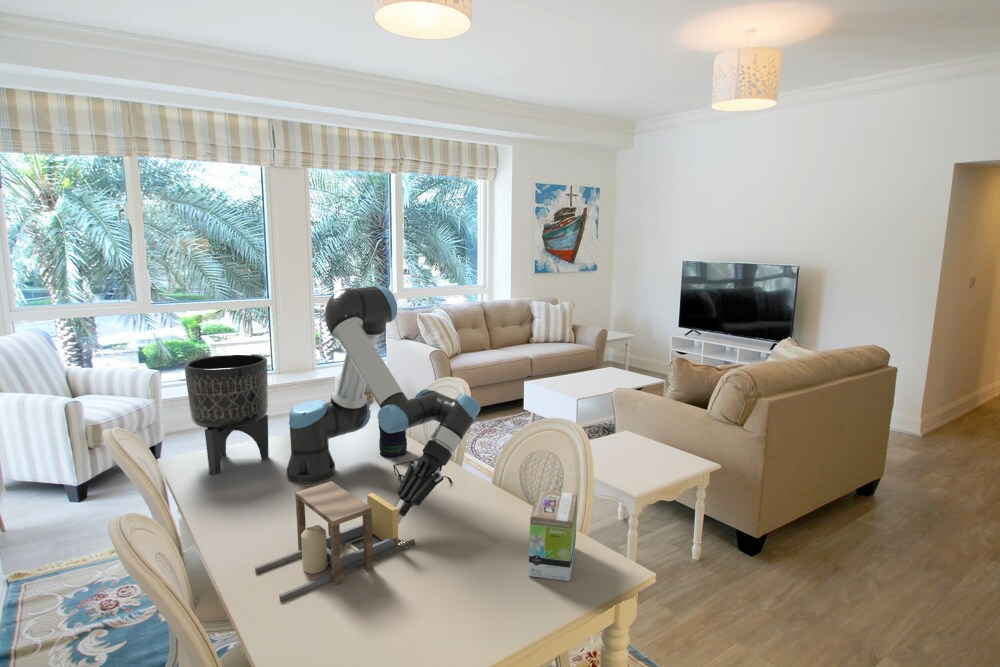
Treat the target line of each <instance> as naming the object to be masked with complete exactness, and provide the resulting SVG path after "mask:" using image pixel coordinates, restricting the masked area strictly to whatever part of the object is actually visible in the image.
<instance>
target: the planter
mask: <svg viewBox="0 0 1000 667" xmlns="http://www.w3.org/2000/svg"><path fill="white" fill-rule="evenodd" d="M184 374H185V382H186V390H187V395H188V396H187V397H188V404H189V410H190V418H191V421H192V423H194V425H196V426H198V427H201V428H205V429H204V437H205V445H206V446H205V447H206V453H207V455H206V456H207V463H208V473H209V474H210V475H218V474H220V473H222V472H221V471H222V470H221V467H222V466H221V465H222V456H225V455H227V439H228V437H229V436H230V435H231V433H233V432H235V431H236V432H237V431H238V432H242V433H245V434H246V435H247V436H250V438H252V439H253V441H254V442H255V444H256V445H257V448H258V450H259V455H260V459H261V461H262V460H268V459H269V457H270V456H269V414H268V409H269V407H268V406H269V399H268V397H269V395H268V394H269V392H268V386H269V385H268V384H269V383H268V359H267V357H265V356H263V355H259V354H249V353H248V354H247V353H246V354H245V353H236V354H234V353H232V354H231V353H230V354H222V355H221V354H219V355H212V356H211V355H210V356H206V357H200V358H195V359H193V360H192V359H191V360H189V361H188V362H185V364H184Z"/></svg>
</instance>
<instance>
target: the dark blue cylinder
mask: <svg viewBox="0 0 1000 667" xmlns="http://www.w3.org/2000/svg"><path fill="white" fill-rule="evenodd" d="M378 423H379V420H378ZM378 430H379V438H378V439H379V440H378V443H379V444H378V448H379V456H380V455H381V456H380V457H381V458H384V457H385V458H386V459H397V458H402V457H404V456H406V455H407V453H408V450H407V449H408V448H407V447H408V440H407V439H408V438H407V432H406V430H407V429H405V430H404V431H399V432H395V433H387V432H385V431H384V430H383V429H382V428H381V427H380V425H379V424H378Z"/></svg>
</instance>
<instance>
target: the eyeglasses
mask: <svg viewBox="0 0 1000 667" xmlns="http://www.w3.org/2000/svg"><path fill="white" fill-rule="evenodd" d="M418 459H419V458H418ZM418 459H414V460H412V459H411V460H412V461H414V462H415V461H418ZM411 460H408V461H404V462H400V463H397V464H396V463H395V464H393V465H392V467H393V471H394V472H393V473H394V476H395V475H396V476H398V481H400V483H401V482H402V480H403V478H404V476H405V475H402V474H400V472H399V469H398V468H397V466H398V465H403V464H407V463H409V462H410V461H411ZM397 474H398V475H397ZM441 476H442V477H443V478H446V479H447V480H448V482H449V483H452V482H453V481H452V479H451V478H450V477H449V476H445V475H441ZM451 481H452V482H451Z"/></svg>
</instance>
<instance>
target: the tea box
mask: <svg viewBox="0 0 1000 667" xmlns="http://www.w3.org/2000/svg"><path fill="white" fill-rule="evenodd" d="M577 514H578V493H569V492H561V491H560V492H559V491H548V490H538V492H537V495H536V499H535V502H534V505H533V508H532V511H531V514H530V517H529V520H530V521H529V523H530V524H529V546H528V548H529V549H528V569H527V570H528V573H527V574H528V576H529V577H534V578H541V579H548V580H556V581H565V582H570V580H571V576H572V571H573V563H574V556H575V550H576V543H577V542H576V540H577V539H576V537H577V516H578V515H577Z"/></svg>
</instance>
